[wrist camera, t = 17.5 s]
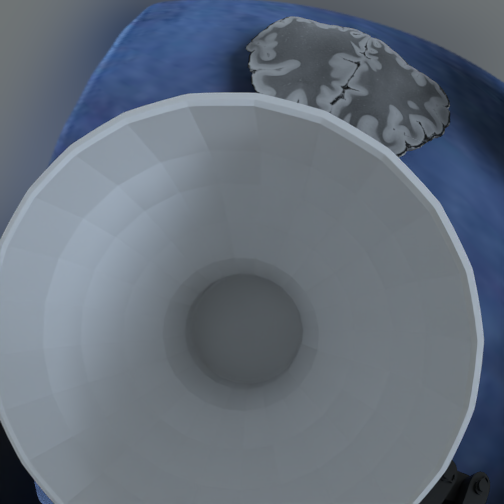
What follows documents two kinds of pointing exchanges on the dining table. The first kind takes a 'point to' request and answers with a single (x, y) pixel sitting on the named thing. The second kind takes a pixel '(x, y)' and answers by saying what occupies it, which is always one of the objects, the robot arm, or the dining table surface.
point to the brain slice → (349, 81)
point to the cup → (235, 314)
